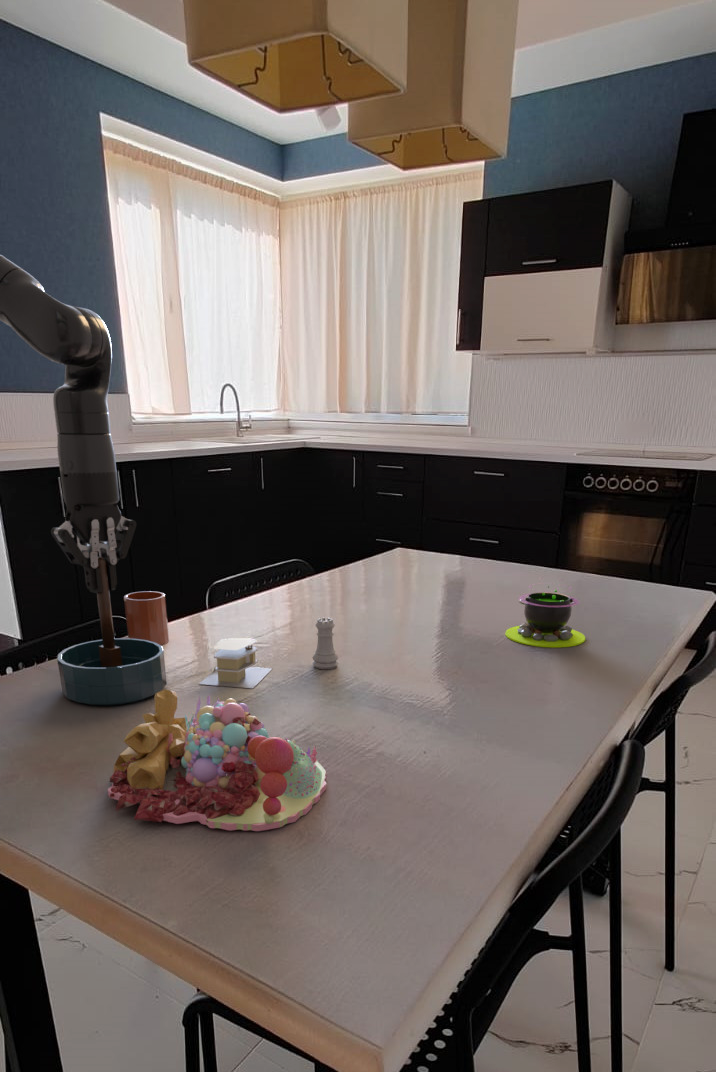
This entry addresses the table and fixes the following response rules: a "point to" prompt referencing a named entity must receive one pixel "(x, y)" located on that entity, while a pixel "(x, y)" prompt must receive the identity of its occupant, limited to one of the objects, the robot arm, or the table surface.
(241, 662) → the stacked layers on plate
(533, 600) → the toy cauldron
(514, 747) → the table surface
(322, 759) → the table surface
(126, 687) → the bowl
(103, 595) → the stirring stick
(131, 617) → the crock
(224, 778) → the pastel sphere sculpture
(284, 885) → the table surface
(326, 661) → the rook chess piece
